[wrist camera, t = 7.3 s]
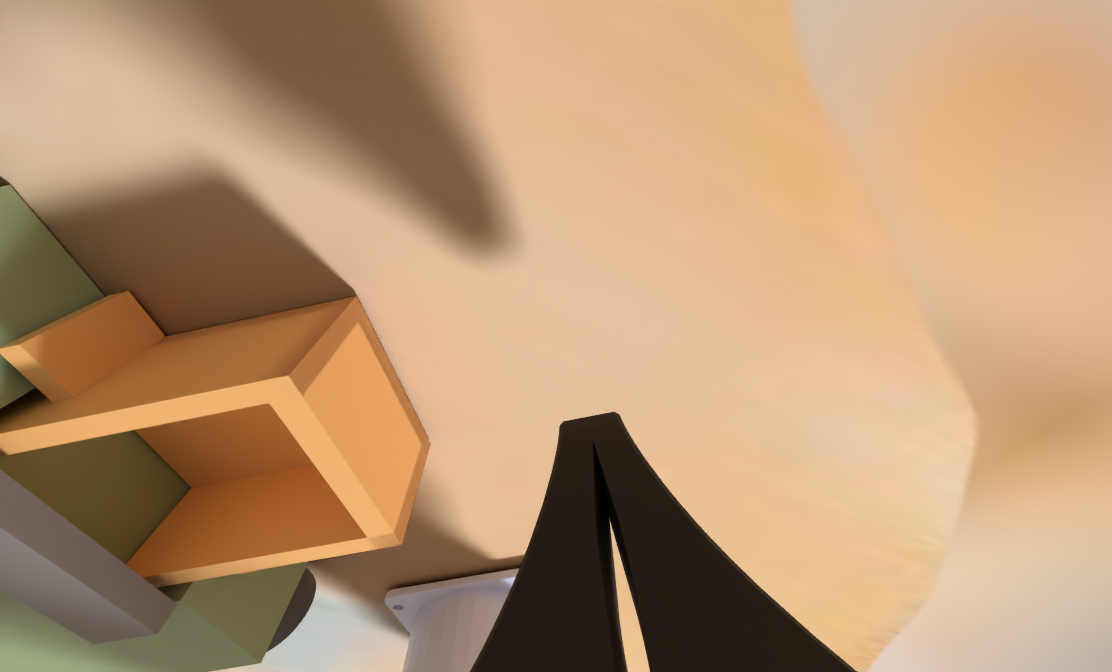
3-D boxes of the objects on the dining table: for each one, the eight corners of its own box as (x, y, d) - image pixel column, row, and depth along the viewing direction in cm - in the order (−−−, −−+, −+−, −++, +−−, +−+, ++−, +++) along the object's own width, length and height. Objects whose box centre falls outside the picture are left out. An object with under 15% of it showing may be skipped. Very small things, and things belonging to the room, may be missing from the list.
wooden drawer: (444, 471, 17) (421, 574, 13) (236, 510, 17) (160, 618, 14) (331, 246, 12) (245, 311, 8) (44, 309, 12) (-152, 396, 9)
